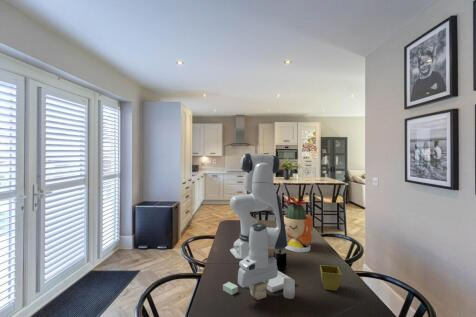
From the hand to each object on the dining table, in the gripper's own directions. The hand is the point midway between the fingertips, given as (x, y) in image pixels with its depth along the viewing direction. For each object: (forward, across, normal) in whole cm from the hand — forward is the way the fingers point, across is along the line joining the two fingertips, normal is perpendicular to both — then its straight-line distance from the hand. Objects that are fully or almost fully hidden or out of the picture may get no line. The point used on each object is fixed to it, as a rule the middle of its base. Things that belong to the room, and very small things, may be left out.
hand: (258, 291), depth 114 cm
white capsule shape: (+2, -12, +7) cm, 14 cm away
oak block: (+2, 0, 0) cm, 2 cm away
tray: (+2, -14, -6) cm, 15 cm away
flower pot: (+2, -34, +12) cm, 36 cm away
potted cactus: (+2, -62, -37) cm, 72 cm away
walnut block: (+2, 0, -11) cm, 11 cm away
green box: (+2, +9, -10) cm, 14 cm away
